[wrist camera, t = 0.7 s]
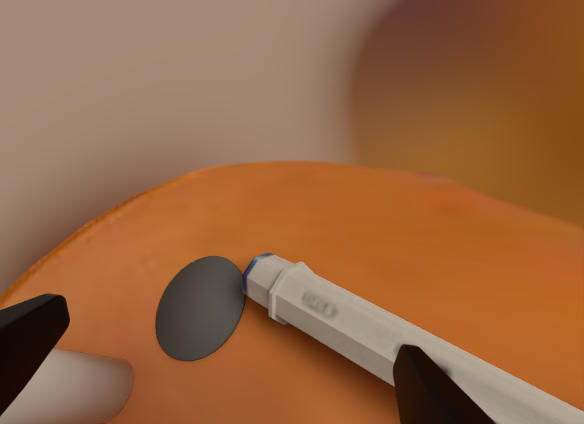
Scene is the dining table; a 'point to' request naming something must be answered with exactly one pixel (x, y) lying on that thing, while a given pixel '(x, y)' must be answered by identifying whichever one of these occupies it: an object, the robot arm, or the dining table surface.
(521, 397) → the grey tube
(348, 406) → the dining table surface
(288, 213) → the dining table surface
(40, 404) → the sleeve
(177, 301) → the pad
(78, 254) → the dining table surface
